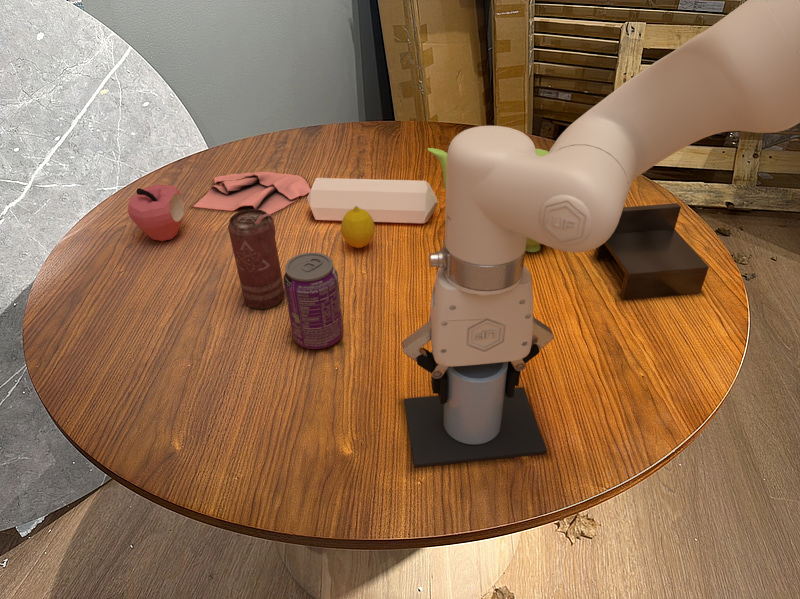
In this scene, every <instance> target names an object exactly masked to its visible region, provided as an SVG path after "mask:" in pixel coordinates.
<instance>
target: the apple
mask: <svg viewBox="0 0 800 599" xmlns="http://www.w3.org/2000/svg"><path fill="white" fill-rule="evenodd" d="M127 205H128V206H127V213H128V216H129V218H130V220H132V222H133V223H134V224H135V225H136V226H137V227H138V228H139V229H140V230H141V231H142V232H143V233H145V234H146V235H147V236H148V237H149V238H150V239H151V240H152V241H160V242H164V241H167V240H173V239H174V238H175V237H176V235H178V232H179V229H180V225H181V223H182V221H183V218H184V215H185V201H184V197H183V194H182V193H181V192H180V190H178V189H177V188H176V187H175V186H174V185H173V184H158V183H157V184H154V185H150V186H147V187H144V188H139V187H138V188H137V189H136V193H135V194H134V195H133V196H132V197H131V198H129V201H128V204H127Z"/></svg>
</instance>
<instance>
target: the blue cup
mask: <svg viewBox="0 0 800 599" xmlns="http://www.w3.org/2000/svg"><path fill="white" fill-rule="evenodd" d="M507 370H508V362H499V363H489V364H478V365H467V366H453V367H448V369H447V370H446V374H447V379H448V386H447V403H445V404H443V425H444V428H445V430H446V431H447V433H448V434H449V435H450V436H451V437H452V438H454V439H455V440H457V441H459V442H462V443H465V444H472V445H476V444H483V443H486V442H489V441H490V440H492V439H493V438H495V437H496V436H497V434H498V433H499V431H500V428H501V422H502V413H503V404H504V396H505V387H506V378H507Z"/></svg>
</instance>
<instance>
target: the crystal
mask: <svg viewBox="0 0 800 599" xmlns="http://www.w3.org/2000/svg"><path fill="white" fill-rule="evenodd" d="M310 189H311V190H310V192H309V194H307V197H306V201H307V203H308V205H309V208H310V210H311V212H312V215H313V217H314V220H316V221H339V222H342V221H343V218H344V216H345V214H346V213H347V212H348V211H350V210H352V209H354V207H356V206H357V207H359V209H363V210H365V211H367V212H368V213H369V214H370V216H371V217H372V219H373V222H374V223H399V224H402V223H403V224H426V223H427V222H428V221H429V220H430V219H431V217H432V216H433V214H434V212H435V211H436V210H437V206H438V204H439V203H438V198H437V195H436V194H435V192H434V190H433V188H432V186H431V184H430V183H429V182H428V181H427V180H413V179H410V180H408V179H380V178H379V179H374V178H373V179H372V178H340V177H339V178H337V177H335V178H334V177H315V180H314V182H313V184H312V186H311V187H310Z"/></svg>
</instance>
